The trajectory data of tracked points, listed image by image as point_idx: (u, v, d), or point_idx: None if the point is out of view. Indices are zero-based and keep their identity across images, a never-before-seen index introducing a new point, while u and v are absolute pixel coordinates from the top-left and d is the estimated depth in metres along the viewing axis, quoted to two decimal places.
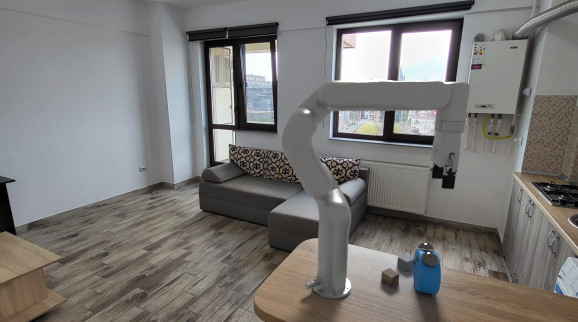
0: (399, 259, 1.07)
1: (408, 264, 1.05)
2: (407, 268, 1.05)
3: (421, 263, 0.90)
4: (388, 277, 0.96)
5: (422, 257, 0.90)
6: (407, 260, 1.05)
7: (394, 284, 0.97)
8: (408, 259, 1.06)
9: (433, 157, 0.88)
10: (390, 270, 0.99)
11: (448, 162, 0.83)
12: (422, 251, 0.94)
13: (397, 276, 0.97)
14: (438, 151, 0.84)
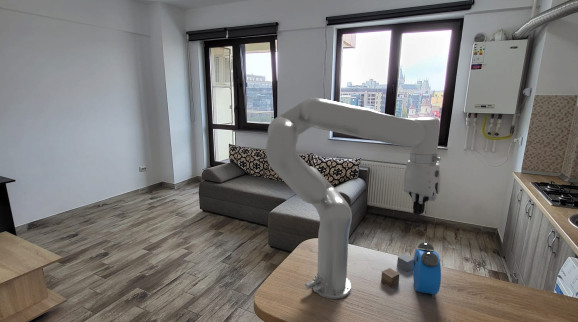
0: (399, 259, 1.07)
1: (408, 264, 1.05)
2: (407, 268, 1.05)
3: (421, 263, 0.90)
4: (388, 277, 0.96)
5: (422, 257, 0.90)
6: (407, 260, 1.05)
7: (394, 284, 0.97)
8: (408, 259, 1.06)
9: None
10: (390, 270, 0.99)
11: None
12: (422, 251, 0.94)
13: (397, 276, 0.97)
14: None
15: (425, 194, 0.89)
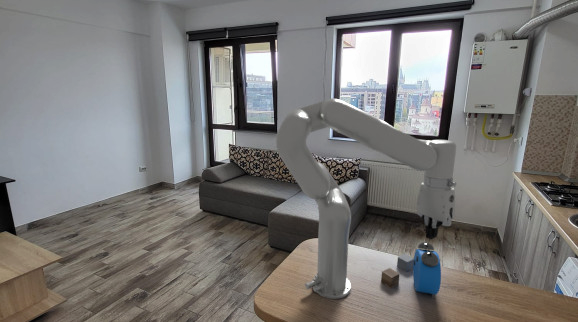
0: (399, 259, 1.07)
1: (408, 264, 1.05)
2: (407, 268, 1.05)
3: (421, 263, 0.90)
4: (388, 277, 0.96)
5: (422, 257, 0.90)
6: (407, 260, 1.05)
7: (394, 284, 0.97)
8: (408, 259, 1.06)
9: None
10: (390, 270, 0.99)
11: None
12: (422, 251, 0.94)
13: (397, 276, 0.97)
14: None
15: (439, 219, 0.86)
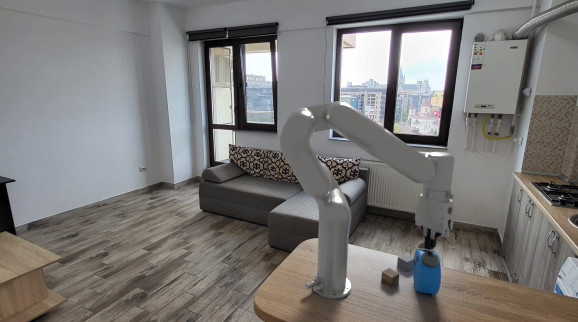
0: (399, 259, 1.07)
1: (408, 264, 1.05)
2: (407, 268, 1.05)
3: (421, 263, 0.90)
4: (388, 277, 0.96)
5: (422, 257, 0.90)
6: (407, 260, 1.05)
7: (394, 284, 0.97)
8: (408, 259, 1.06)
9: None
10: (390, 270, 0.99)
11: None
12: (422, 251, 0.94)
13: (397, 276, 0.97)
14: None
15: (437, 230, 0.87)
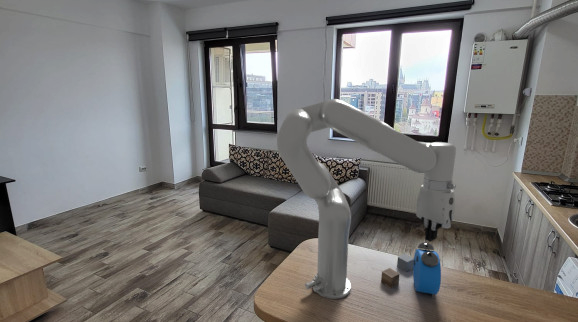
0: (399, 259, 1.07)
1: (408, 264, 1.05)
2: (407, 268, 1.05)
3: (421, 263, 0.90)
4: (388, 277, 0.96)
5: (422, 257, 0.90)
6: (407, 260, 1.05)
7: (394, 284, 0.97)
8: (408, 259, 1.06)
9: None
10: (390, 270, 0.99)
11: None
12: (422, 251, 0.94)
13: (397, 276, 0.97)
14: None
15: (438, 221, 0.86)
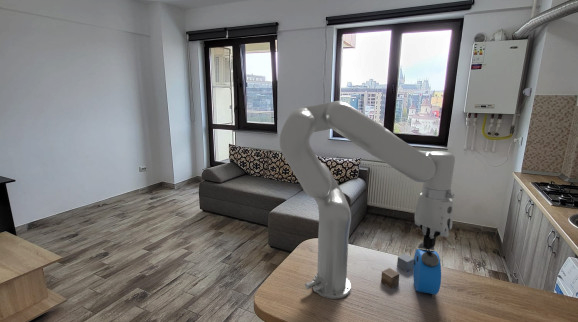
0: (399, 259, 1.07)
1: (408, 264, 1.05)
2: (407, 268, 1.05)
3: (421, 263, 0.90)
4: (388, 277, 0.96)
5: (422, 257, 0.90)
6: (407, 260, 1.05)
7: (394, 284, 0.97)
8: (408, 259, 1.06)
9: None
10: (390, 270, 0.99)
11: None
12: (422, 251, 0.94)
13: (397, 276, 0.97)
14: None
15: (437, 229, 0.87)
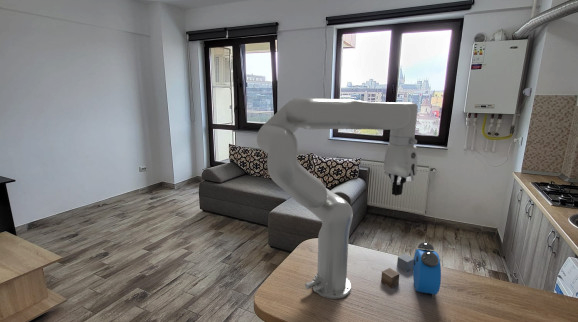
0: (399, 259, 1.07)
1: (408, 264, 1.05)
2: (407, 268, 1.05)
3: (421, 263, 0.90)
4: (388, 277, 0.96)
5: (422, 257, 0.90)
6: (407, 260, 1.05)
7: (394, 284, 0.97)
8: (408, 259, 1.06)
9: None
10: (390, 270, 0.99)
11: None
12: (422, 251, 0.94)
13: (397, 276, 0.97)
14: None
15: (402, 175, 0.94)
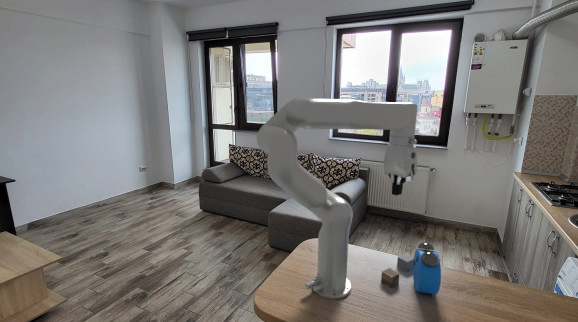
0: (399, 259, 1.07)
1: (408, 264, 1.05)
2: (407, 268, 1.05)
3: (421, 263, 0.90)
4: (388, 277, 0.96)
5: (422, 257, 0.90)
6: (407, 260, 1.05)
7: (394, 284, 0.97)
8: (408, 259, 1.06)
9: None
10: (390, 270, 0.99)
11: None
12: (422, 251, 0.94)
13: (397, 276, 0.97)
14: None
15: (402, 175, 0.94)
